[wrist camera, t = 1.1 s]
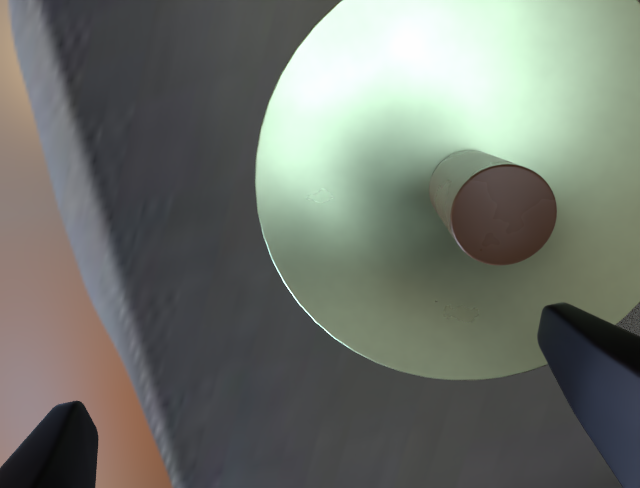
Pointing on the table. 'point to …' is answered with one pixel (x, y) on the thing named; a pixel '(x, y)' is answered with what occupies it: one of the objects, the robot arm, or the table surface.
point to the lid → (456, 176)
